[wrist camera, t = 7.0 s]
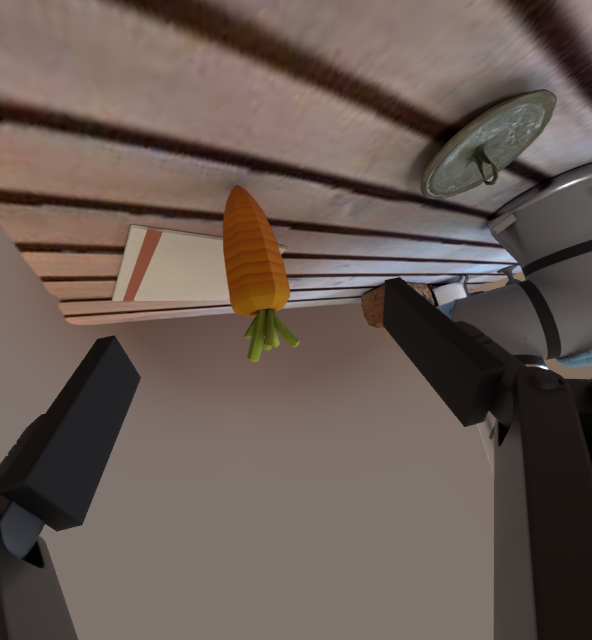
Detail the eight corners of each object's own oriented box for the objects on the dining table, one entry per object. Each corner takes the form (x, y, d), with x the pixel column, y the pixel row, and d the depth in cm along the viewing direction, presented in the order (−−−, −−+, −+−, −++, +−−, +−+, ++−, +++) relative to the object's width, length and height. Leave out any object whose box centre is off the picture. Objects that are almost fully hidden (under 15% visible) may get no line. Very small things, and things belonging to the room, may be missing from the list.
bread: (357, 295, 73) (367, 332, 71) (391, 279, 65) (403, 320, 63) (396, 295, 85) (406, 327, 83) (429, 282, 76) (441, 316, 75)
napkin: (130, 224, 25) (131, 228, 25) (286, 246, 37) (287, 249, 37) (111, 298, 41) (112, 301, 41) (226, 298, 52) (227, 300, 52)
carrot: (275, 173, 23) (317, 347, 20) (251, 208, 27) (283, 358, 24) (218, 157, 20) (256, 357, 18) (200, 199, 24) (229, 368, 22)
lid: (392, 148, 26) (397, 203, 26) (525, 61, 17) (531, 144, 17) (452, 168, 31) (456, 213, 31) (574, 110, 23) (578, 171, 23)
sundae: (524, 261, 78) (545, 312, 75) (516, 267, 84) (535, 315, 81) (497, 269, 80) (516, 319, 77) (491, 275, 86) (509, 321, 83)
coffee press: (431, 293, 94) (461, 381, 88) (405, 293, 84) (436, 392, 78) (488, 271, 80) (527, 374, 75) (464, 268, 71) (507, 386, 65)
